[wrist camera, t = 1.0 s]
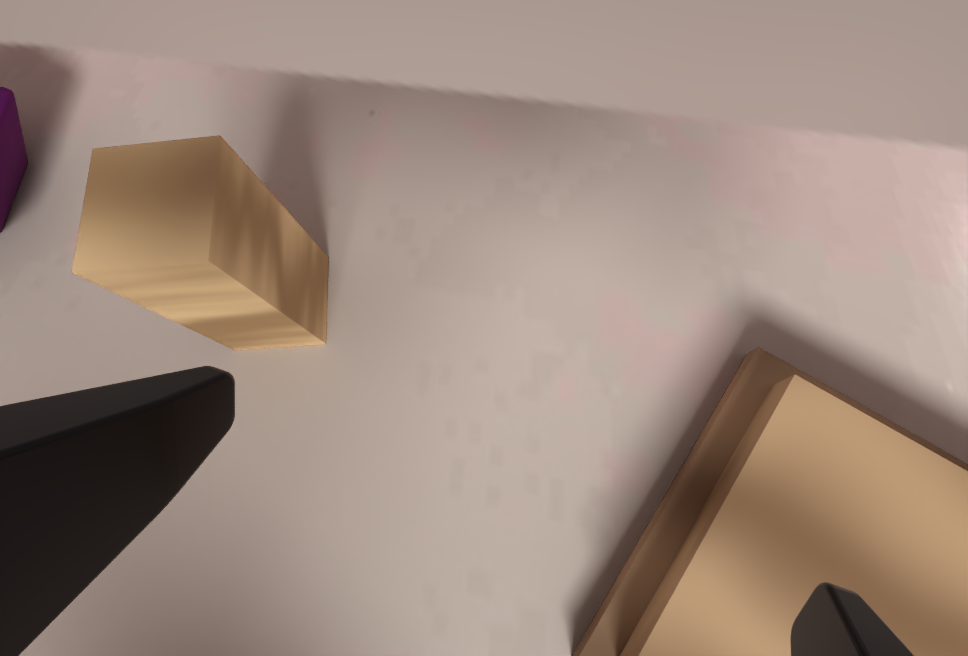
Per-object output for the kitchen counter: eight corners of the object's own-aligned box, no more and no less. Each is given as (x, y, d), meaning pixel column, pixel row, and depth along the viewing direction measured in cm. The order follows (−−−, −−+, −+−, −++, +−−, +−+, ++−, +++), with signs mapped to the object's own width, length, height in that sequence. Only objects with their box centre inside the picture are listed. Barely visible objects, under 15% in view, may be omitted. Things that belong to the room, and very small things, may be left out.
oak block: (326, 343, 24) (208, 260, 16) (235, 350, 25) (71, 272, 16) (328, 257, 25) (220, 135, 17) (242, 264, 26) (92, 148, 17)
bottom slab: (929, 923, 18) (976, 974, 16) (570, 651, 21) (573, 666, 19) (1083, 554, 20) (1140, 561, 18) (740, 359, 23) (757, 347, 21)
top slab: (957, 917, 16) (1014, 973, 14) (616, 662, 19) (624, 680, 17) (1096, 571, 18) (1161, 580, 16) (771, 386, 21) (794, 374, 19)
